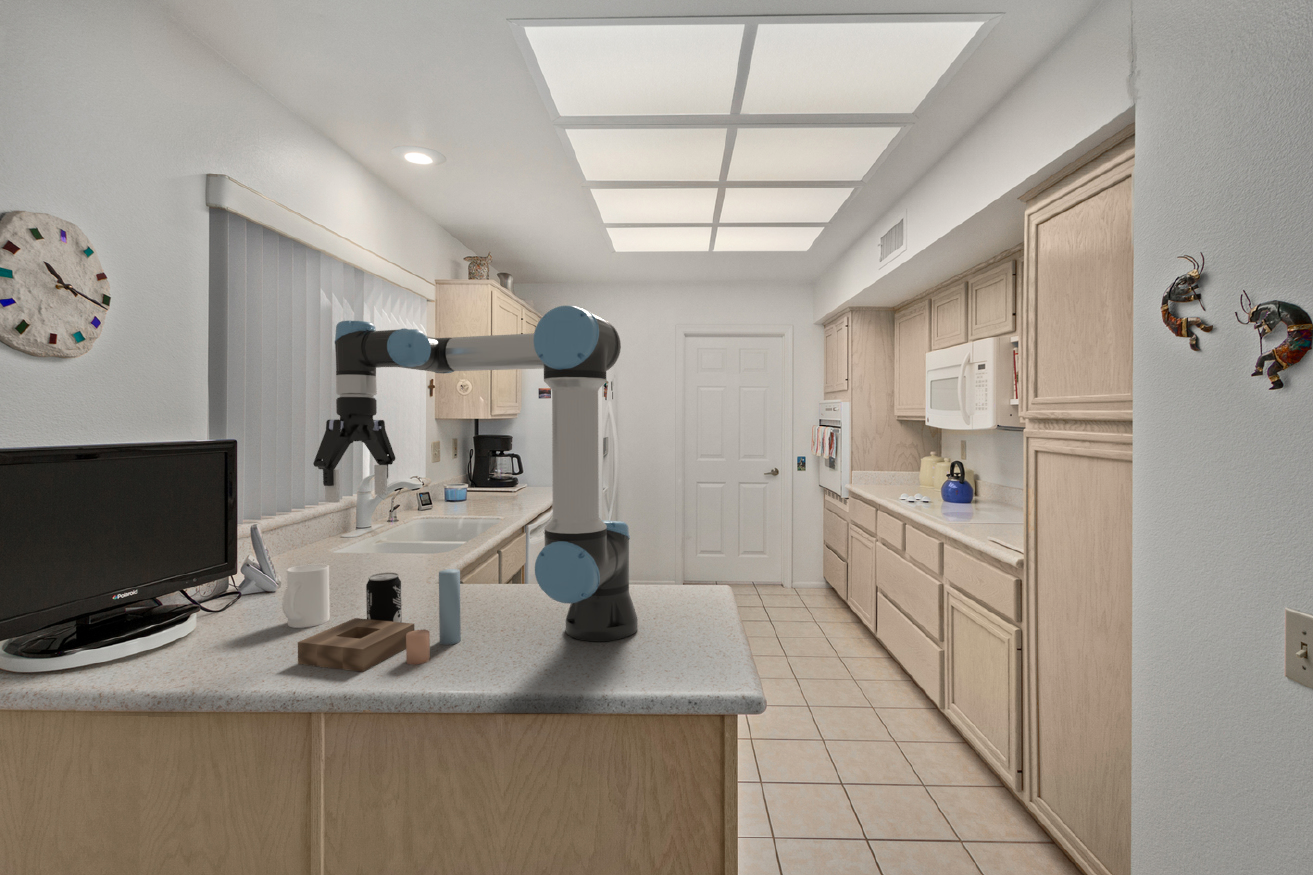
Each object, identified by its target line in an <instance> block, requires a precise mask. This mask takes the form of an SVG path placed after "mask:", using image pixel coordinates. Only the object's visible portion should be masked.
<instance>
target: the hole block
mask: <svg viewBox="0 0 1313 875" xmlns="http://www.w3.org/2000/svg"><path fill="white" fill-rule="evenodd" d="M414 630H415V623H414V622H413V623H412V622H403V621H402V622H392V621H381V620H371V619H367V618H359V617H354V618H352V619H349V620H347V621H345V622H342V623H340V624H338V625H335V626H332V627H331V628H328V629H326V630H323V631H320V632H318V633H316V634H313V635H311V636H309V637H306V638H304V639H302V640H298V641H297V664H298V665H302V664H305V665H304V666H310V665H312V666H311V667H318V666H320V668H327V667H328V668H329V669H335V670H346V671H353V672H354V671H355V672H360V673H363V672H366V671H367V670H369V669H371V668H373V667H375V666H376V665H378V664H381V663H382V662H384V661H386V660H388V659H390V658H391V657H393V656H395V655H396V654H399V653H400V652H402V651H404V650H406V634H407V633H408V632H411V631H414ZM313 665H314V666H313ZM328 668H327V669H328Z"/></svg>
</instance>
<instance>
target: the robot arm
mask: <svg viewBox="0 0 1313 875" xmlns="http://www.w3.org/2000/svg"><path fill="white" fill-rule="evenodd" d="M334 348H335V366H336V367H335V379H336V384H335V385H336V390H335V391H336V392H335V393H336V395H338V396H339V397H337V398H336V399H335V400H336V401H335V405H336V408H335V409H336V415H338V416H339V419H327V420H326V422H325V431H324V434H323V437H322V439H321V442H320V445H319V447H318V451H317V453H316V456H315V458H314V460H313V466H314V467H315V468H318V470H322V475H323V476H322V478H323V479H322V484H323V487H324V491H325V492H324V493H325V500H324V501H325V503H340V497H341V496H340V469H339V468H338V469H337V467H338V464H339V463H340V461H341V460H342V458H343V456H344V455H345V452H346V451H347V449H348V447H349V446H350V445H351V444H353V443H354V442H361V443H363V444H364V445H365V447H366V448H367V449H368V451H369V453H370V454H371V456H372V457H373V458H374V460H375V462H376V463H377V464H374V466H373V470H374V471H373V472H374V474H373V476H374V478H373V479H374V496H375V495H377V496H381V495H383V496H388V479H389V465H390V466H391V465H393V463H394V462H395V460H396V455H395V453H394V450H393V447H392V444H391V442H390V439H389V436H388V434H387V431H386V423H385V420H384V419H374V416H376V415H377V412H378V411H377V405H378V404H377V399H376V398H375V397H374V396H376V395H377V394H378V393H377V390H378V388H377V368H403V369H408V370H418V371H425V372H426V371H427V372H432V373H436V374H452V373H454V372H467V371H468V372H471V371H473V372H474V371H504V370H505V371H507V370H508V371H509V370H511V371H513V370H536V369H537V370H539V369H542V370H543V381H544V383H545V384H546V385H547V386H548V387H549V388H550V389H551V393H552V394H551V396H552V397H551V398H552V399H551V400H552V401H551V406H552V407H551V408H552V409H551V412H552V414H551V417H552V420H551V421H552V424H551V427H552V431H551V432H552V434H551V436H552V438H551V439H552V442H551V443H552V444H551V445H552V446H551V447H552V458H551V460H552V466H551V468H552V518H551V520H549V522H548V523H547V524H546V525H544V547H543V548H542V549H541V551H539V553H538V555H537V557H536V559H535V563H534V576H535V579H536V582H537V585H538V586H539V587H540V589H541V590H542V592H544V593H545V594H546V595H547V596H548V597H549V598H550V599H552V600H553V601H556V602H559V603H561V604H570V605H569V607H568V611H567V614H566V618H565V633H566V634H567V635H568V636H569V637H572V638H574V639H576V640H581V641H586V642H587V641H588V642H609V641H617V640H621V639H625V638H627V637H630V636H633V635H634V634H635V633H636V632H637V631H638V628H639V627H638V620H639V619H638V615H637V612H636V609H635V606H634V603H633V599H632V597H631V594H630V539H631V537H630V532H629V526H628V524H627V523H626V522H625V521H622V520H621V521H620V520H606V519H605V520H603V519H601V518H600V515H599V510H600V509H599V507H600V506H599V501H600V499H599V495H600V494H599V480H600V479H599V391H600V388H602V387H603V386H604V385H605V383H607V371H609V370H611V369H612V368H613V367H614V366H615V364H616V363H617V361H618V359H619V357H620V353H621V348H622V346H621V338H620V335H619V333H618V331H617V329H616V327H615V326H613V325H612V323H610V322H609V321H608V320H607V319H605V318H602V317H600V316H597V315H595V314H593V313H592V312H591V311H589V310H588V309H586V308H584V307H580V306H575V305H568V304H567V305H560V306H557V307H553V308H552V309H550V310H548V311H546V313H545V314H544V315H543V316H542V317H541V318H540V319H539V320H538V323H537V324H536V326H535V329H534V333H514V334H512V333H511V334H497V335H496V334H494V335H493V334H492V335H474V336H471V335H470V336H456V337H455V336H453V337H432V336H427V335H426V334H425V333H424V332H423V331H422V330H419V329H415V328H413V329H412V328H410V329H408V328H405V327H404V328H399V329H387V330H385V329H384V330H376V326H375V324H373V323H372V322H369V321H364V320H342V321H339V322H338V323H337V324H336V326H335V337H334Z"/></svg>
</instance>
